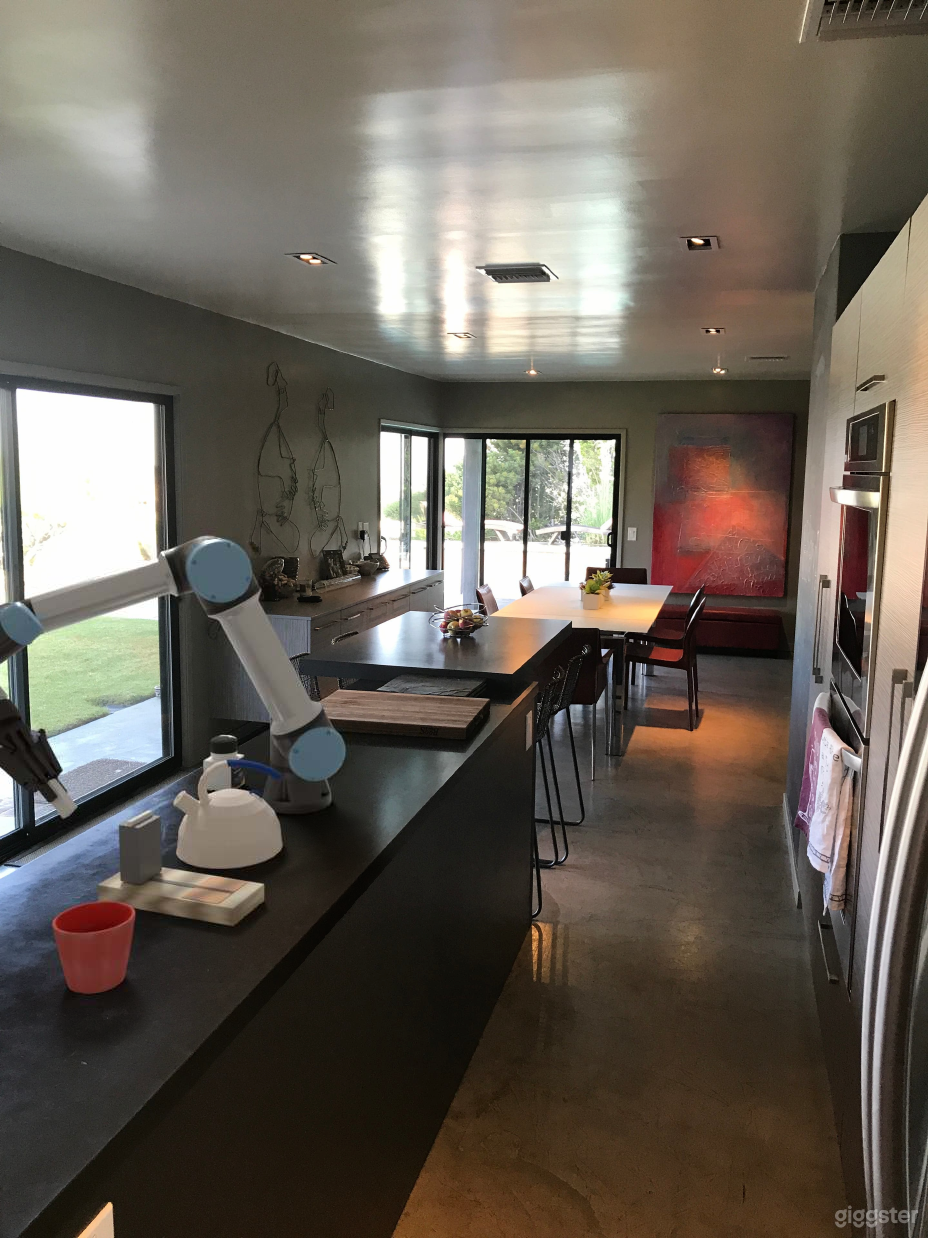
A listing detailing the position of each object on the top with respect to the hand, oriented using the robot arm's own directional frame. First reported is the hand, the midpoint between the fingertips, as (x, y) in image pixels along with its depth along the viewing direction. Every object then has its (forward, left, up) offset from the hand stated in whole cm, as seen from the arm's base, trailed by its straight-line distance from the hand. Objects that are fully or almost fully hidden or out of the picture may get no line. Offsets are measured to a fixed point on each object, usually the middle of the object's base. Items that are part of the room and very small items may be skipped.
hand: (70, 812), depth 164 cm
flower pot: (0, +36, -13) cm, 38 cm away
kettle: (-29, -5, -14) cm, 32 cm away
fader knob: (-10, +9, -10) cm, 17 cm away
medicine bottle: (-37, -43, -13) cm, 58 cm away
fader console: (-16, +15, -13) cm, 25 cm away
